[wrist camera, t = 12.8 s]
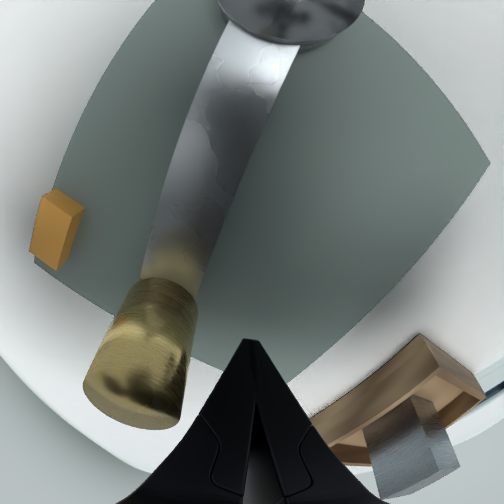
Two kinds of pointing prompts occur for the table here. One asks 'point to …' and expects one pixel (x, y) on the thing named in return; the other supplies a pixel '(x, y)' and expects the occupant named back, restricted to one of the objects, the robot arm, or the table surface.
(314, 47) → the crank
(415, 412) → the block
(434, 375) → the tray
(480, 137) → the table surface
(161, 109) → the crank base
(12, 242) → the table surface
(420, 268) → the table surface
